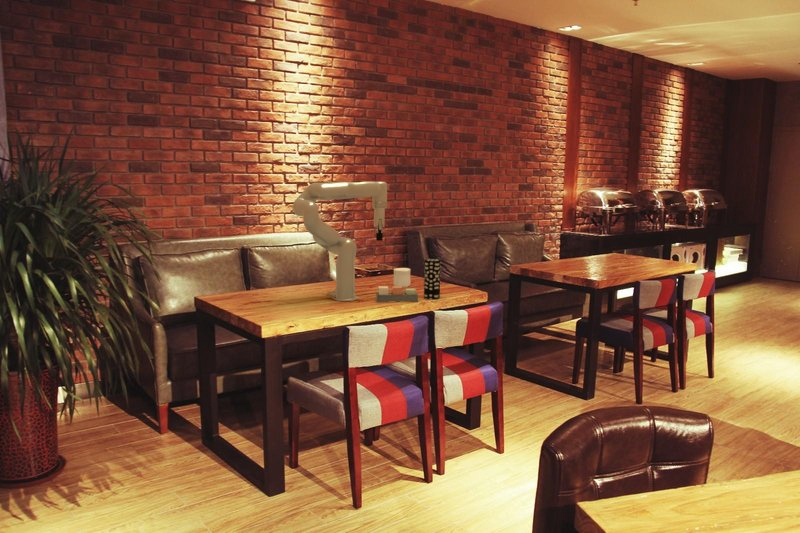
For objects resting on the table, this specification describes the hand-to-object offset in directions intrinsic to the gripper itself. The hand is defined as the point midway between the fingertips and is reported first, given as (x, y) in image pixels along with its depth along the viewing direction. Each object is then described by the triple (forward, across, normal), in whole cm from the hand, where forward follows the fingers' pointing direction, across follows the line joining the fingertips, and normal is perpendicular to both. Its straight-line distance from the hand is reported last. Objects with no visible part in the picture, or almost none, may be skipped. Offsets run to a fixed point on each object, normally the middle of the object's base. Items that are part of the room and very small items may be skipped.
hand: (379, 240), depth 338 cm
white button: (+27, +15, +1) cm, 31 cm away
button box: (+29, +15, +8) cm, 34 cm away
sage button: (+28, +15, +15) cm, 35 cm away
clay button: (+27, +15, +8) cm, 32 cm away
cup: (+29, -25, +15) cm, 41 cm away
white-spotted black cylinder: (+29, +9, +27) cm, 41 cm away
